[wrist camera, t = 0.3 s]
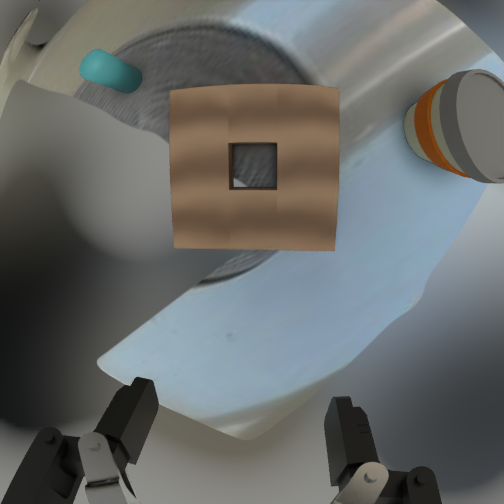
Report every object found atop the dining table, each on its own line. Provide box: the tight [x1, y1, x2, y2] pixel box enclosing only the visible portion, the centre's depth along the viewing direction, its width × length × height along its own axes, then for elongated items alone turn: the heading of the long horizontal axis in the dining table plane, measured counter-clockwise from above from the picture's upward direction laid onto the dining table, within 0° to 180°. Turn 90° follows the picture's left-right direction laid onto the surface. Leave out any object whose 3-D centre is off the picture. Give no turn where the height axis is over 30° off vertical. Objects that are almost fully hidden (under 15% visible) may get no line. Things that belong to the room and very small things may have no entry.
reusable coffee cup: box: [404, 69, 504, 183], centre depth 24 cm, size 13×13×15 cm
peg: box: [80, 49, 142, 93], centre depth 27 cm, size 4×4×10 cm
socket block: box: [169, 84, 340, 251], centre depth 33 cm, size 20×20×4 cm
